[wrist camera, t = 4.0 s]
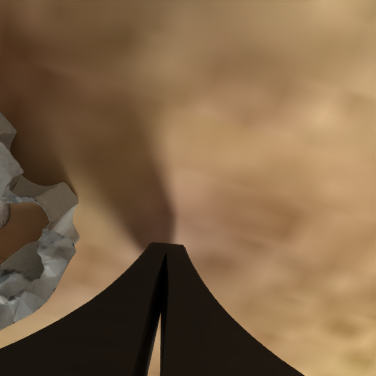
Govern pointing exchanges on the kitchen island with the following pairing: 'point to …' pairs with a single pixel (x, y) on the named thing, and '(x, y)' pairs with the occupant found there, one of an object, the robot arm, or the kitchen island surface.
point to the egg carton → (38, 250)
